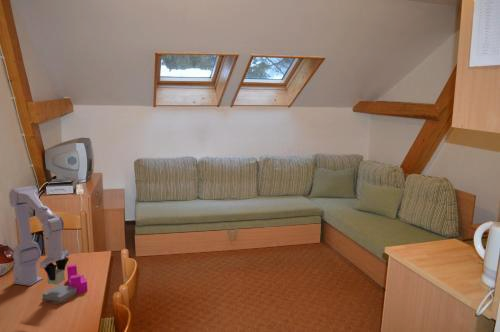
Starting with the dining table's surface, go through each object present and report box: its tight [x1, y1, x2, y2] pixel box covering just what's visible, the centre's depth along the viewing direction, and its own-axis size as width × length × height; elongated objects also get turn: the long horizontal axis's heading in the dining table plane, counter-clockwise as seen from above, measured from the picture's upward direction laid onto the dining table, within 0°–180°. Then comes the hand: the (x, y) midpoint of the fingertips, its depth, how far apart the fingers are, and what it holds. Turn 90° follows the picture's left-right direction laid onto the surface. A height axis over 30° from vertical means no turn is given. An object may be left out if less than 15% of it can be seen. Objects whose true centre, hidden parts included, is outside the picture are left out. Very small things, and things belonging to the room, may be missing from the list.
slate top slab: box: [42, 284, 76, 302], centre depth 167 cm, size 9×9×2 cm
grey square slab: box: [41, 293, 77, 306], centre depth 167 cm, size 9×9×2 cm
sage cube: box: [46, 268, 66, 286], centre depth 166 cm, size 4×4×4 cm
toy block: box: [66, 264, 88, 295], centre depth 178 cm, size 15×6×8 cm, turn 30°
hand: (56, 277), depth 166 cm, fingers closed on sage cube, 4 cm apart
